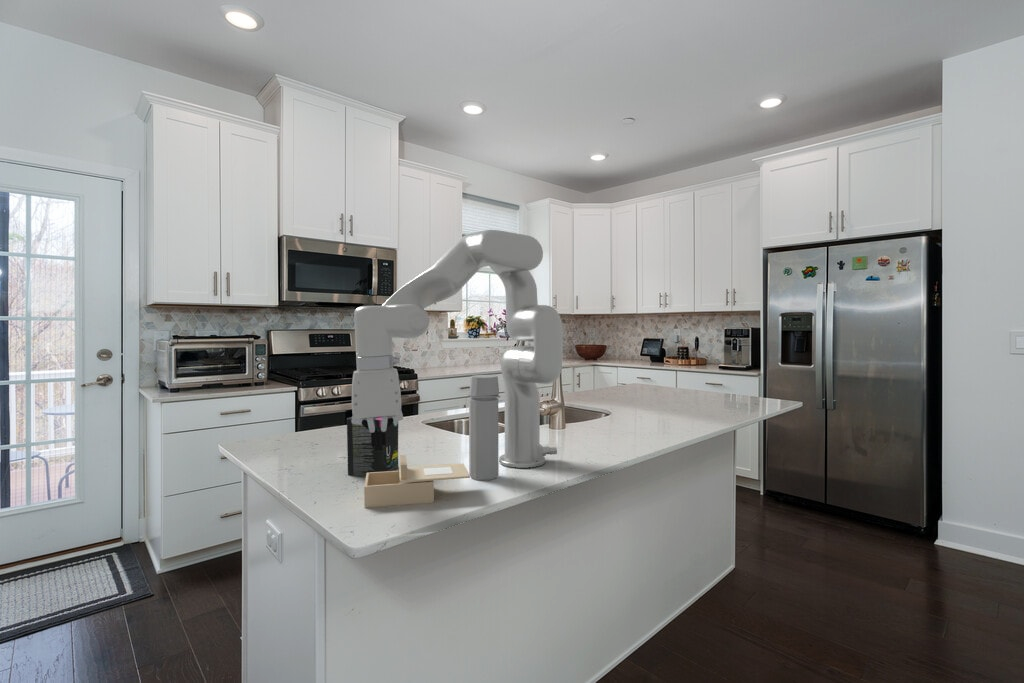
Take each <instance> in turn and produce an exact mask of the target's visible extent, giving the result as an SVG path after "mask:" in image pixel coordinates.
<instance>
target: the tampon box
mask: <svg viewBox="0 0 1024 683" xmlns="http://www.w3.org/2000/svg"><path fill="white" fill-rule="evenodd" d="M388 418H389V417H388ZM351 420H352V416H351V417H347V418H346V444H347V445H346V448H347V449H346V450H347V476H350V477H351V476H352V477H365V478H366V474H367V473H370V472H386V471H396V470H397V469H399V421H397V422H394V423H392V424H391V425H390V426H389V427H388V428H387V430H386V431H385V432H386V445H383V450H382V451H380V450H378V451H375V446H372V445H371V432H370V431H369V430H368V429H367V428H365V427H364V426H363V425H358V424H352V422H351ZM374 422H375V426H376V427H377V430H378V433H379V428H380V426H381V422H382V417H381V418H374ZM378 440H379V434H378Z"/></svg>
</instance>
